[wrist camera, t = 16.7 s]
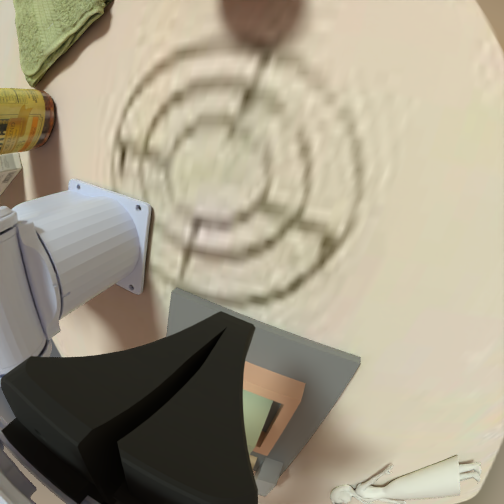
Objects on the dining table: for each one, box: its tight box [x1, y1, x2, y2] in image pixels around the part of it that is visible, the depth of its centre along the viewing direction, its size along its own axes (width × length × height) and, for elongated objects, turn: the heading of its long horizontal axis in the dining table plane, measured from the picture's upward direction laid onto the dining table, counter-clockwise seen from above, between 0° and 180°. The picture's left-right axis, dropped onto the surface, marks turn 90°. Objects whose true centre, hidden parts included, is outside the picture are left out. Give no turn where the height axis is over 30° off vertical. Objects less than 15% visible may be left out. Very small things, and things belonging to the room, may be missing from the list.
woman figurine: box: [330, 455, 481, 504], centre depth 23 cm, size 12×4×18 cm
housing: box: [166, 288, 360, 497], centre depth 25 cm, size 15×20×4 cm
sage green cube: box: [243, 389, 273, 455], centre depth 22 cm, size 5×5×6 cm
